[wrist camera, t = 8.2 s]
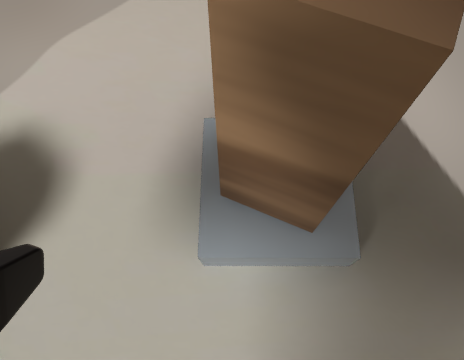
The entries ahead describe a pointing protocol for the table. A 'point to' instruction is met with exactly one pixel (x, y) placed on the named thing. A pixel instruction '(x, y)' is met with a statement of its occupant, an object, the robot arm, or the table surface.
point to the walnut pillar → (316, 92)
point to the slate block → (267, 227)
